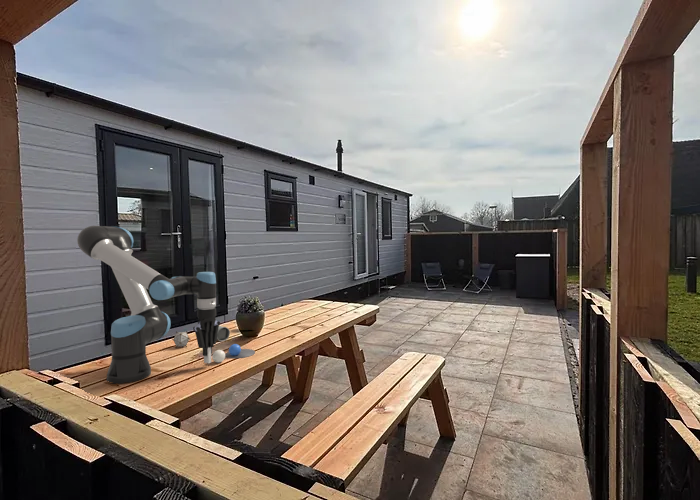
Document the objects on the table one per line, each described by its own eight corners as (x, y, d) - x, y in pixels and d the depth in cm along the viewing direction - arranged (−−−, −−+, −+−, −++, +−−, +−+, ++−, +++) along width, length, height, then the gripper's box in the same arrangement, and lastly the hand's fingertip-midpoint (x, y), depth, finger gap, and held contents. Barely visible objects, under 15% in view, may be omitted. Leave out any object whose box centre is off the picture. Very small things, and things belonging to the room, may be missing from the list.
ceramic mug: (222, 337, 203) (222, 323, 203) (230, 339, 197) (229, 325, 197) (204, 341, 195) (204, 327, 195) (211, 344, 189) (211, 329, 189)
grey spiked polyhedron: (182, 355, 182) (181, 342, 177) (169, 348, 184) (166, 335, 178) (195, 342, 190) (193, 330, 184) (181, 336, 191) (179, 323, 185)
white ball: (226, 348, 164) (225, 360, 163) (213, 348, 162) (213, 361, 162) (224, 350, 158) (224, 363, 158) (211, 351, 157) (211, 364, 157)
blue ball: (231, 342, 167) (240, 340, 172) (224, 349, 168) (232, 346, 173) (237, 353, 165) (245, 350, 170) (229, 359, 167) (237, 356, 172)
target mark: (227, 360, 163) (227, 359, 163) (222, 351, 175) (222, 351, 175) (258, 355, 169) (258, 355, 169) (251, 347, 182) (251, 347, 182)
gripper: (201, 311, 146) (201, 368, 147) (224, 306, 158) (225, 359, 159) (187, 309, 149) (188, 366, 150) (212, 304, 161) (212, 356, 162)
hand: (207, 362), depth 154 cm, fingers closed
